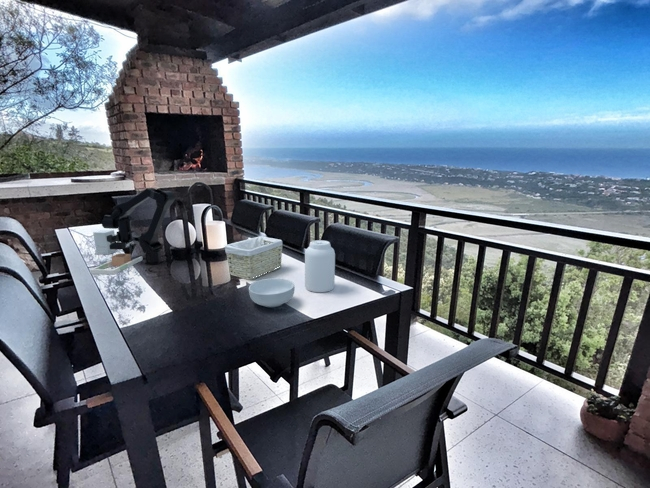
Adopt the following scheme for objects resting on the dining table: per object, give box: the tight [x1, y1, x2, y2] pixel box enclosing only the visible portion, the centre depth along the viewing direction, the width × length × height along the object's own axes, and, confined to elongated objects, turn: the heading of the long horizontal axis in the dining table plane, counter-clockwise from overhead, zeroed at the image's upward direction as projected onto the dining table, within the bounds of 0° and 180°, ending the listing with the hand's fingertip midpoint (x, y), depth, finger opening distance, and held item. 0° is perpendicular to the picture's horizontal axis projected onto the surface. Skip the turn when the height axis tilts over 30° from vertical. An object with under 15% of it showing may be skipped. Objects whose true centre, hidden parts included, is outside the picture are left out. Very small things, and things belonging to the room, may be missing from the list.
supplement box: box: [92, 229, 118, 255], centre depth 188 cm, size 7×7×13 cm
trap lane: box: [89, 256, 143, 276], centre depth 165 cm, size 11×24×2 cm, turn 178°
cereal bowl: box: [248, 277, 295, 308], centre depth 125 cm, size 17×17×7 cm
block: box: [110, 253, 132, 267], centre depth 168 cm, size 6×6×5 cm
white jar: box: [304, 239, 336, 293], centre depth 139 cm, size 12×12×20 cm
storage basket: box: [224, 235, 283, 281], centre depth 159 cm, size 24×16×15 cm
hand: (128, 258), depth 174 cm, fingers closed
